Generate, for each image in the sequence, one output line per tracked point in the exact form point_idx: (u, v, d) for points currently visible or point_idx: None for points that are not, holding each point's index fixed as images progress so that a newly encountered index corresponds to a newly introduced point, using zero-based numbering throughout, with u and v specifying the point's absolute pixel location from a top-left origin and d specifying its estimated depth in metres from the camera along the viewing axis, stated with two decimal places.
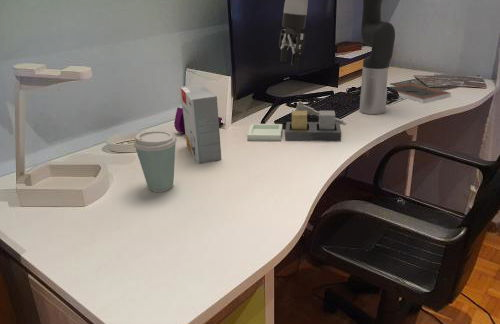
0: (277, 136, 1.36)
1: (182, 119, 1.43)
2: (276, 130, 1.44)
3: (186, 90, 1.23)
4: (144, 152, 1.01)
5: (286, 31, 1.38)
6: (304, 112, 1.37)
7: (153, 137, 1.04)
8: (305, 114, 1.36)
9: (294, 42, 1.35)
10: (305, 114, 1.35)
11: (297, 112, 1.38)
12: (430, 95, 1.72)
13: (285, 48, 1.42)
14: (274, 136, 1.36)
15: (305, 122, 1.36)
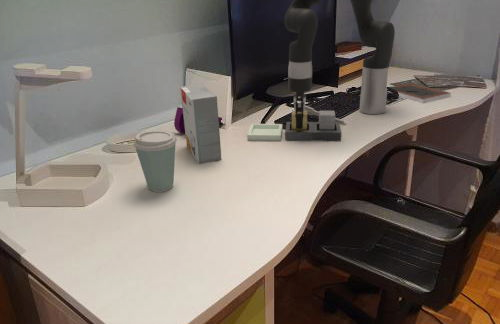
0: (277, 136, 1.36)
1: (182, 119, 1.43)
2: (276, 130, 1.44)
3: (186, 90, 1.23)
4: (144, 152, 1.01)
5: None
6: (304, 112, 1.37)
7: (153, 137, 1.04)
8: (305, 113, 1.36)
9: None
10: (305, 114, 1.35)
11: (297, 112, 1.38)
12: (430, 95, 1.72)
13: None
14: (274, 136, 1.36)
15: (305, 122, 1.36)
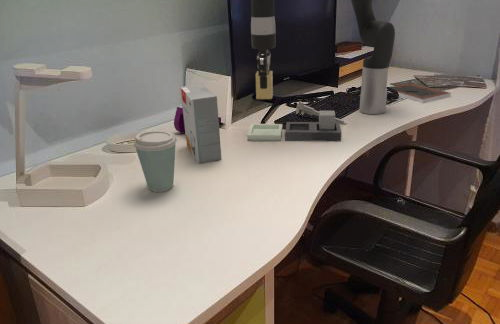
0: (277, 136, 1.36)
1: (181, 118, 1.43)
2: (276, 130, 1.44)
3: (186, 90, 1.23)
4: (144, 152, 1.01)
5: None
6: (269, 72, 1.33)
7: (153, 137, 1.04)
8: (270, 73, 1.32)
9: None
10: (269, 73, 1.31)
11: None
12: (430, 95, 1.72)
13: (265, 71, 1.35)
14: (274, 136, 1.36)
15: (269, 82, 1.31)
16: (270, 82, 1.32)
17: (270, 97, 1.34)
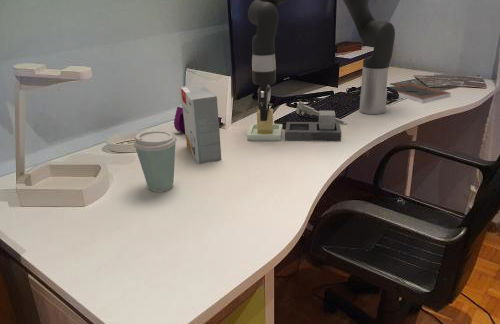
0: (277, 136, 1.36)
1: (182, 118, 1.44)
2: (276, 130, 1.44)
3: (186, 90, 1.23)
4: (144, 152, 1.01)
5: None
6: (269, 110, 1.39)
7: (153, 137, 1.04)
8: (271, 111, 1.37)
9: None
10: (270, 112, 1.36)
11: None
12: (430, 95, 1.72)
13: None
14: (274, 136, 1.36)
15: (270, 120, 1.37)
16: (271, 120, 1.37)
17: None
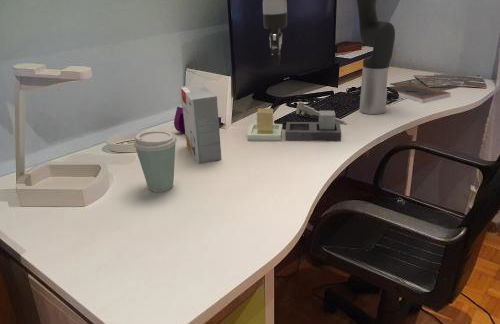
0: (277, 136, 1.36)
1: (181, 118, 1.44)
2: (276, 130, 1.44)
3: (186, 90, 1.23)
4: (144, 152, 1.01)
5: None
6: (269, 110, 1.39)
7: (153, 137, 1.04)
8: (271, 111, 1.37)
9: None
10: (270, 112, 1.36)
11: (263, 110, 1.39)
12: (430, 95, 1.72)
13: (277, 47, 1.39)
14: (274, 136, 1.36)
15: (270, 120, 1.37)
16: (271, 120, 1.37)
17: None
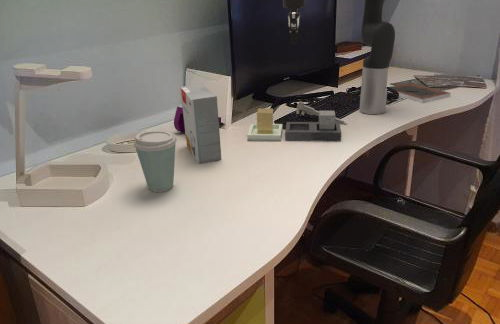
0: (277, 136, 1.36)
1: (181, 118, 1.44)
2: (276, 130, 1.44)
3: (186, 90, 1.23)
4: (144, 152, 1.01)
5: None
6: (269, 110, 1.39)
7: (153, 137, 1.04)
8: (271, 111, 1.37)
9: None
10: (270, 112, 1.36)
11: (263, 110, 1.39)
12: (429, 95, 1.72)
13: (294, 27, 1.46)
14: (274, 136, 1.36)
15: (270, 120, 1.37)
16: (271, 120, 1.37)
17: None
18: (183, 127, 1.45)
